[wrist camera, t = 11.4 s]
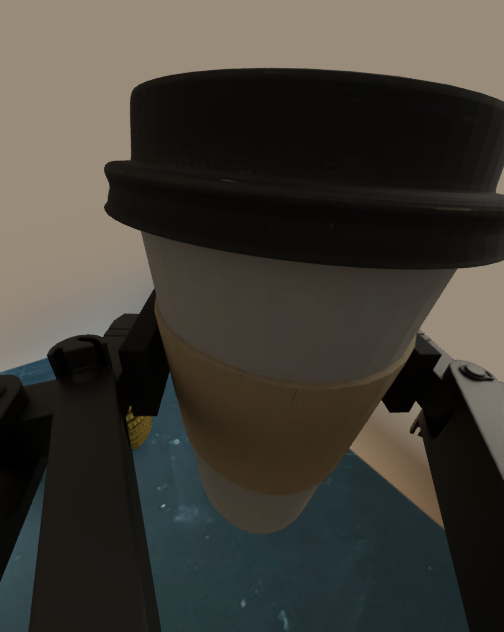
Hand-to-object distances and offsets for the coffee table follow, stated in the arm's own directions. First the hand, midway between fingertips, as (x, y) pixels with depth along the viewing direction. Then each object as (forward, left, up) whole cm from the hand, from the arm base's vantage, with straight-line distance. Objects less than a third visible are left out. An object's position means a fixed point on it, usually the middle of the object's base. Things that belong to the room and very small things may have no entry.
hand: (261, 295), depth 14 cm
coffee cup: (-3, +3, -8) cm, 9 cm away
